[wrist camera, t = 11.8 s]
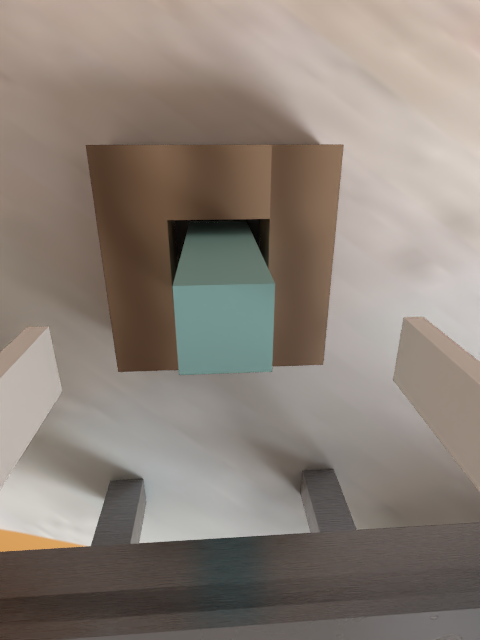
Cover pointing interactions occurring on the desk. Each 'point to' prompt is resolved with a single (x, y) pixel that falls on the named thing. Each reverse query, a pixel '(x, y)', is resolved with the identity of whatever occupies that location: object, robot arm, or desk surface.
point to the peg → (223, 301)
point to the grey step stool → (248, 580)
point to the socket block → (214, 204)
